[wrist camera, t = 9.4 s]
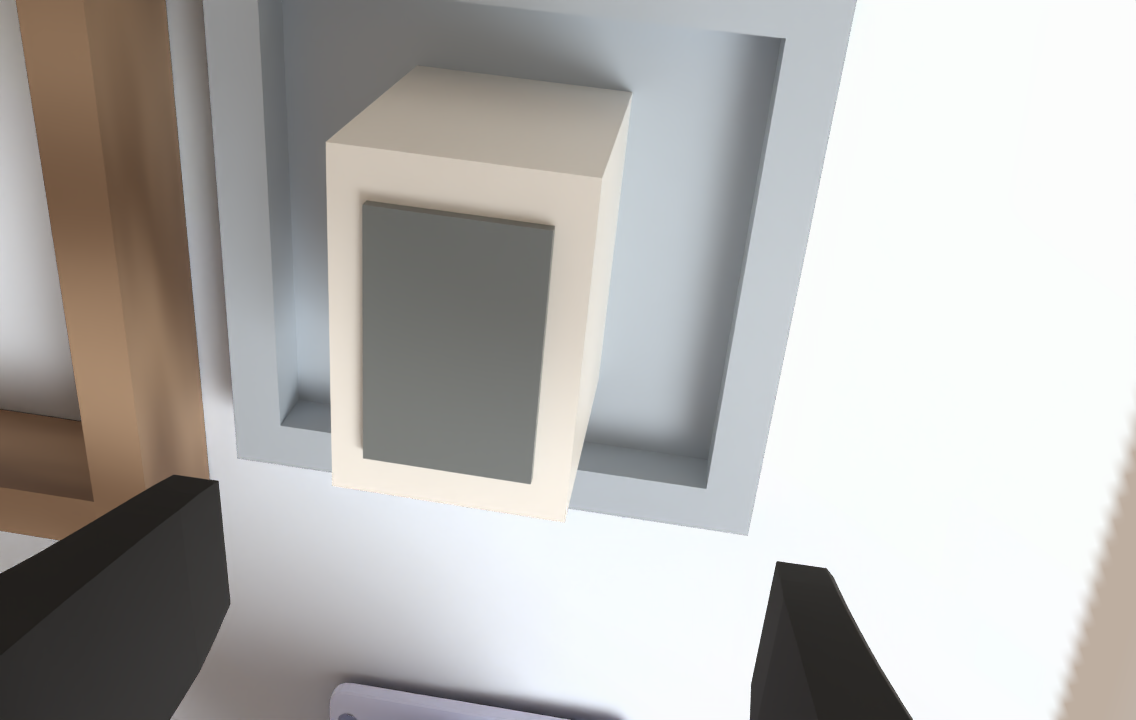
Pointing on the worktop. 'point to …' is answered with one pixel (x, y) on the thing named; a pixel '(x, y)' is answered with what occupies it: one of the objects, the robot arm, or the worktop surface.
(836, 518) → the worktop surface
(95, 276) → the open case
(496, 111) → the block
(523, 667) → the worktop surface
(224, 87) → the tray
